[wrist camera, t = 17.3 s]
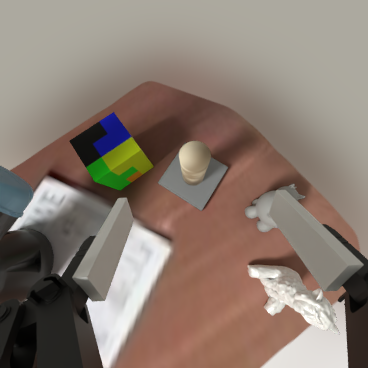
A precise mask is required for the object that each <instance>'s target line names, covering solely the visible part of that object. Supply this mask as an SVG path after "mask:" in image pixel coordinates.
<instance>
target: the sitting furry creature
mask: <svg viewBox="0 0 368 368" xmlns="http://www.w3.org/2000/svg"><path fill="white" fill-rule="evenodd" d="M248 268H249V269H248V273H249V275H250V276H251V277H253V278H258V279H259V278H260V281H261V283H262V284H263V285H264V286H265V287H264V289H265V291H266V293H267V294H268V296H269V295H270V296H271V297H270V296H269V298H268V300H267V301H268V302H267V303H266V304H265V306H264V308H265V309H266V310H267V311H268V312H269V313H270V314H271V315H272V316H273V315H274V314H275V313H279V312H281V310H282V309H283V308H284V307H285V305H286V304H287V305H289V306H290V307H292V308H294V310H295V311H297V312H299V313H301V314H302V316H303V317H304V318H305V320H306V321H307V322H308V323H309V324H312V325H314V326H316V327H318V328H320V329H322V330H328V329H330V330H331V331H333V332H334V333H336V334H340V332H339V330H338V328H337V327H336V325H335V323H336V320H337V319H336V314H335V310H334V309H333V308H332V306H331V304H330V302H329V301H328V300H327V299H326V298H325V297H323V292H322V290H321V288H319V289H316V290H314V291H311V290H307V289H306V286H305V285H303V284H302V280H301V277H300V276H299V274H298V273H297V272H296V271H294V270H292V269H290V268H288V267H286V266H285V267H284V266H273V265H272V266H270V265H257V264H256V265H248ZM268 278H270V279H271V280H270V279H268Z"/></svg>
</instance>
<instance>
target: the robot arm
mask: <svg viewBox="0 0 368 368" xmlns="http://www.w3.org/2000/svg"><path fill="white" fill-rule="evenodd" d="M33 195H34V193H33V189H32V188H31V186H30V185H29V184H28V183H27V182H26V181H24V180H23V179H22V178H20V177H19V176H17V175H16V174H14V173H13V172H11V171H9V170H8V169H6V168H4V167H2V166H0V368H103V365H102V361H101V357H100V354H99V350H98V346H97V342H96V338H95V335H94V331H93V327H92V323H91V319H90V316H89V312H88V308H87V305H86V302H87V300H88V297H89V298H90V299H91V300H92V301H105V299H106V296H107V293H108V291H109V288H110V285H111V282H112V279H113V277H114V274H115V271H116V268H117V266H118V263H119V260H120V257H121V255H122V252H123V249H124V246H125V243H126V241H127V238H128V235H129V232H130V230H131V227H132V224H133V221H134V219H133V216H132V213H131V209H130V206H129V203H128V200H127V198H118V199H117V201H116V203H115V205H114V206H113V208H112V210H111V211H110V213H109V215H108V217H107V218H106V220H105V222H104V223H103V225H102V227H101V229H100V230H99V232H98V234H97V236H90V237H89V238H87V239H86V240H85V241H84V242H83V244H82V245H81V247H80V248H79V251H77V253H76V255H75V257H74V258H73V259H72V261H71V262H70V264H69V265H68V267H67V269H66V270H65V272H64V273H63V275H62V276H61V277H60V276H59V275H58V274H50V273H51V270H52V265H53V252H52V248H51V245H50V243H49V241H48V240H47V238H46V237H45V236H44V235H42V234H41V233H39V232H37V231H35V230H29V229H25V230H14V231H9V232H7V231H8V230H9V229H10V228H11V226H12V225H13V224H14V222H15V221H16V220H17V219H18V218H19V217H21V216H22V215H23V211H24V210H25V209H26V207H27V206H28V204H29V203H30V202H31V200H32V199H33ZM269 215H270V216H271V218H272V219H273V221H274V222H275V223H276V225H277V226H278V228H279V229H280V230H281V232H282V233H283V235H284V236H285V237H286V239H287V240H288V242H289V243H290V244H291V246H292V247H293V249H294V250H295V252H296V253H297V254H298V256H299V257H300V259H301V260H302V261H303V263H304V264H305V266H306V267H307V268H308V270H309V271H310V273H311V274H312V275H313V277H314V278H315V280H316V281H317V283H318V284H319V285H320V287H321V288H322V290H323V291H337V290H338V289H339V288H340V287H341V286H343V287H344V288H345V290H346V292H345V293H344V294H343V295H342V296H340V297H339V299H338V301H339V302H342V301H343V300H344V299H345V304H344V305H345V314H346V332H347V349H348V368H368V260H367V259H366V258H365V257H364V256H363V255H362V254H361V253H360V252H359V251H357V250H356V249H355V248H354V247H353V246H352V245H351V244H349V243H348V241H346V240H345V239H344V238H342V236H341V235H340V234H339V233H338V232H337V231H335V230H334V229H332V228H331V227H329V226H328V225H326V224H321V223H320V222H319V221H318V220H317V219H315V218H314V217H313V216H312V215H311V214H310V213H309V212H308V211H307V210H306V209H305V208H304V207H303V206H302V205H301V204H300V203H299V202H298V201H297V200H296V199H295V198H293V197H292V196H291V195H290V194H289V193H288V192H287V191H286V190H276V193H275V196H274V199H273V202H272V205H271V208H270V211H269ZM25 300H26V301H25Z"/></svg>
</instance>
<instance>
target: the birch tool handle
mask: <svg viewBox="0 0 368 368" xmlns="http://www.w3.org/2000/svg"><path fill="white" fill-rule="evenodd" d="M210 159H211V153H210V150H209V148H208V147H207V146H206V145H205V144H204V143H202V142H199V141H191V142H188V143H186V144H185V145H184V146H183V147H182V148H181V150H180V152H179V160H180V165H181V170H182V176H183V179H184V181H185V182H186V183H187V184H188V185H191V186H195V185H198V184H200V183H201V182H202V181H203V178H204V176H205V173H206V170H207V168H208V165H209V162H210Z"/></svg>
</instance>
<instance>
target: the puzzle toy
mask: <svg viewBox="0 0 368 368" xmlns="http://www.w3.org/2000/svg"><path fill="white" fill-rule="evenodd" d="M70 143H71V144H72V146H73V148H74V149H75V151H76V152H77V154H78V156H79V157H80V159H81V160H82V162H83V164H84V165H85V167H86V168H87V170H88V172H89V173H90V175H91V177H92V178H93V180H94V181H95V182H97V183H100V184H103V185H106V186H108V187H111V188H114V189H117V190H122V189H123V188H124V187H126V186H127V185H129V184H130V183H132V182H133V181H134V180H136V179H137V178H139V177H140V176H141V175H143V174H144V173H146V172H147V171H148V170H150V169H151V168H153V167H154V166H153V165H152V164H151V162H150V161H149V159H148V158H147V157H146V155H145V154H144V153H143V151H142V150H141V149H140V147H139V146H138V145H137V143H136V142H135V140H134V139H133V138H132V136H131V135H130V134H129V132H128V131H127V130H126V128H125V127H124V126H123V124H122V123H121V122H120V120H119V119H118V118H117V116H116V115H115V114H114V112H113V113H112V114H110V115H109V116H107V117H105V118H104V119H102V120H101V121H99V122H98V123H96V124H95V125H93V126H92V127H90V128H88V129H87V130H85V131H84V132H82V133H81V134H79V135H78V136H76V137H75V138H73V139H72V140H70Z"/></svg>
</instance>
